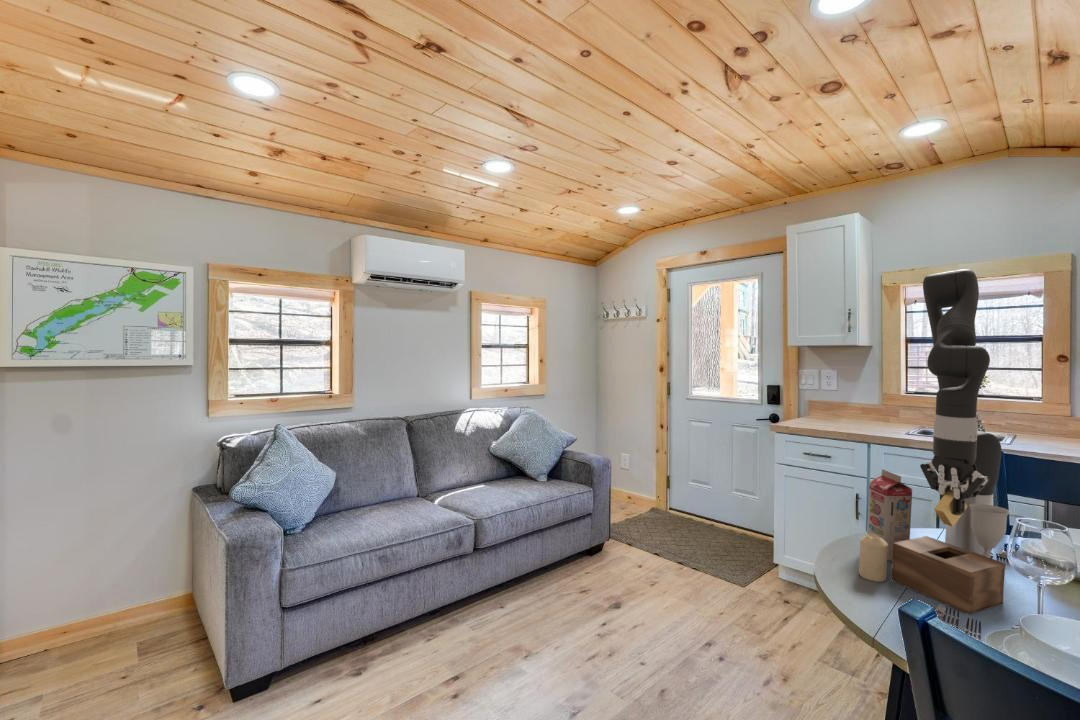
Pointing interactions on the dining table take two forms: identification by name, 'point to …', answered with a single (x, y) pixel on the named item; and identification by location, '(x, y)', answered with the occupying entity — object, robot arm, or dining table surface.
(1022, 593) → the dining table surface
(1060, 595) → the dining table surface
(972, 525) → the chalice
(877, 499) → the juice carton
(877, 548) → the candle
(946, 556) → the box
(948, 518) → the brass token
